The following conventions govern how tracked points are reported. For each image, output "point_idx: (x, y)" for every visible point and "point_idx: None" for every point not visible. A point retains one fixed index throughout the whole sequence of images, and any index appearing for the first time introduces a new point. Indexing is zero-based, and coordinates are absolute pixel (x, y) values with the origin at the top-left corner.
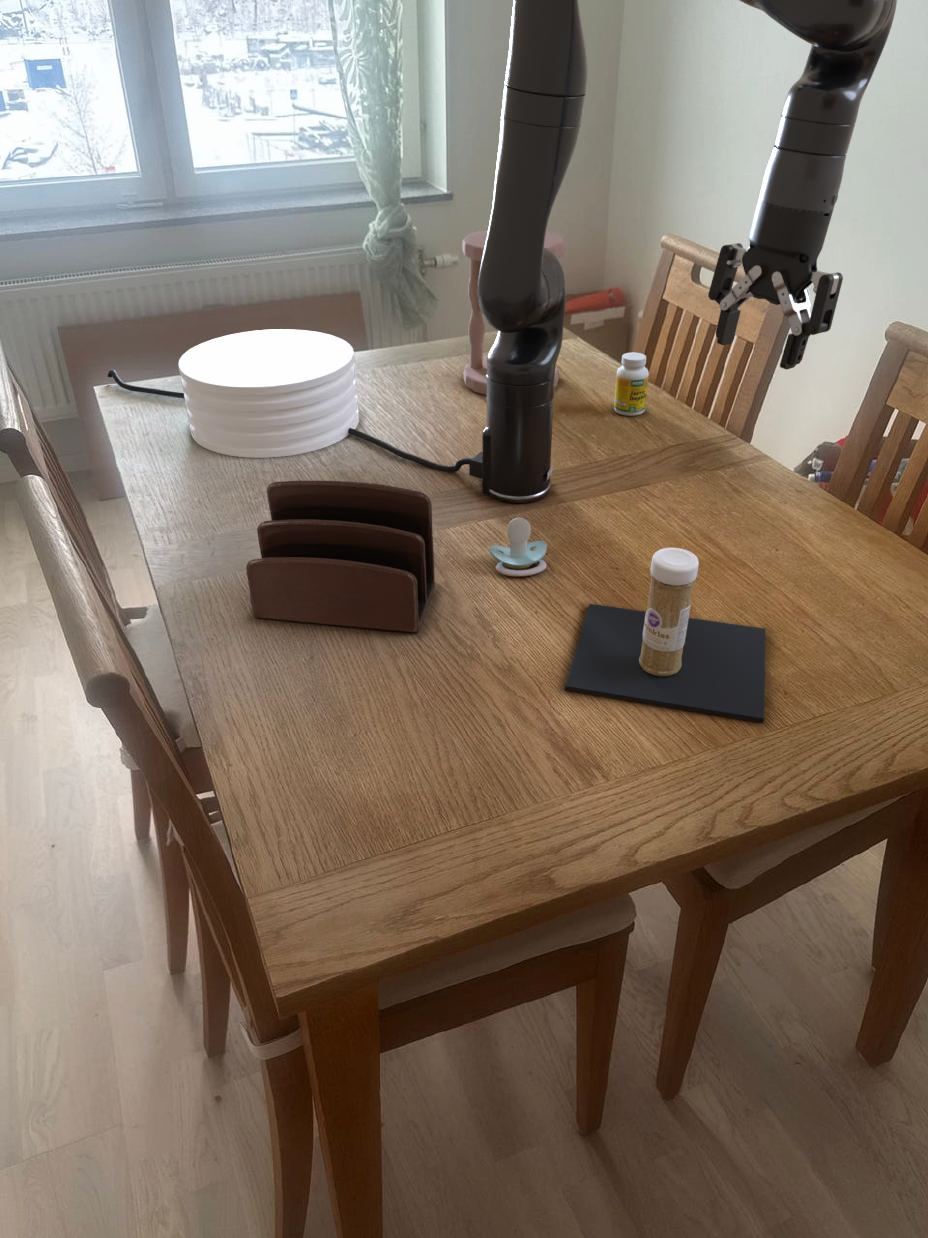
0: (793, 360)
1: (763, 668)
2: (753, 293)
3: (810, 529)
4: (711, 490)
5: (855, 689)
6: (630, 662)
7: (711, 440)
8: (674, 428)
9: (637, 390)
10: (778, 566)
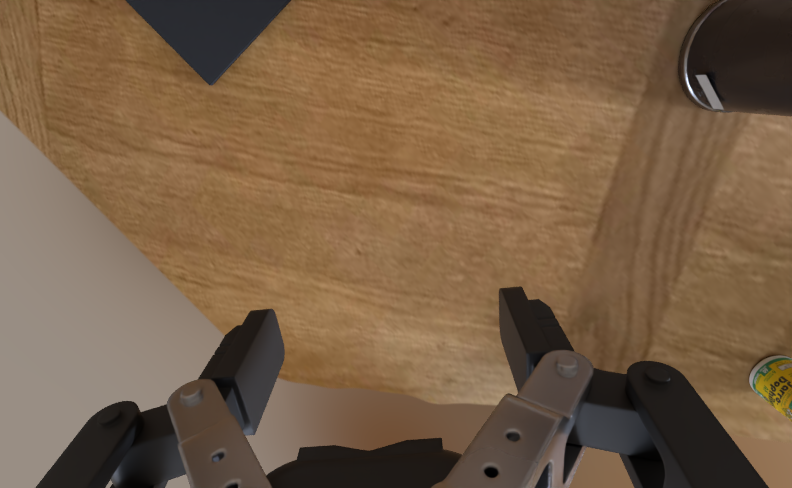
0: (230, 336)
1: (134, 7)
2: (443, 452)
3: (372, 323)
4: None
5: (67, 88)
6: None
7: None
8: None
9: (787, 394)
10: (327, 224)
